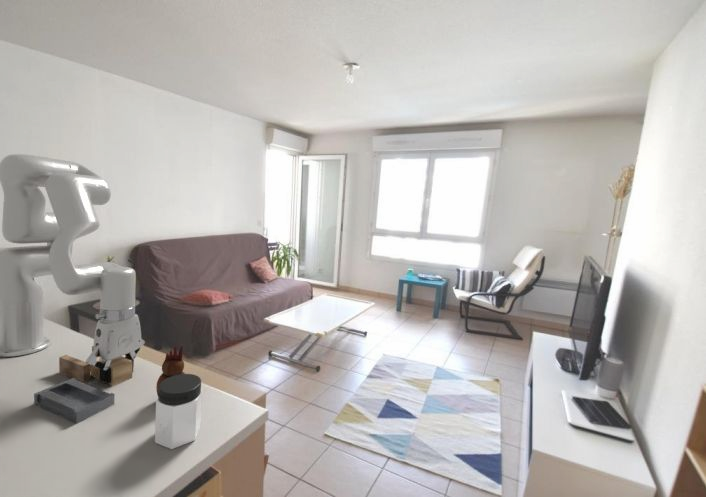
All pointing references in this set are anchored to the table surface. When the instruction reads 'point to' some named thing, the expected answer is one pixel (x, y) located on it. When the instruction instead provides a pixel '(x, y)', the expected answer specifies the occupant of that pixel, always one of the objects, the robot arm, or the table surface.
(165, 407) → the jar
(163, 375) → the wooden figurine
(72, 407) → the grey shallow tray
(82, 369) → the wooden blocks
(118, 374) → the cardboard-coloured box
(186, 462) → the table surface
